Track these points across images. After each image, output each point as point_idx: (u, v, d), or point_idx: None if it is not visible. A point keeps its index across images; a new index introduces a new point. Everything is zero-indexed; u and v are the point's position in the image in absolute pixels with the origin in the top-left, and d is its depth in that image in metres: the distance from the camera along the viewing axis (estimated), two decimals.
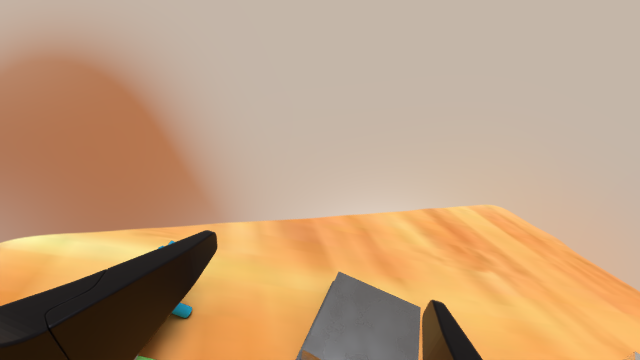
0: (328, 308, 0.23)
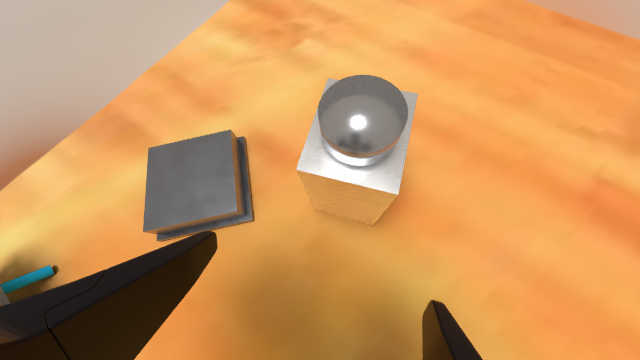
0: (151, 187, 0.23)
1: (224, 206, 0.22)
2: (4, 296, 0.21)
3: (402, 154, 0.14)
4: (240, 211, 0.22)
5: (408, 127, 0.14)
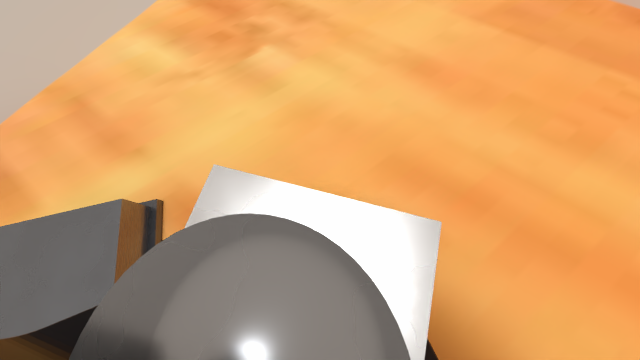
0: None
1: None
2: None
3: None
4: None
5: (417, 346, 0.05)
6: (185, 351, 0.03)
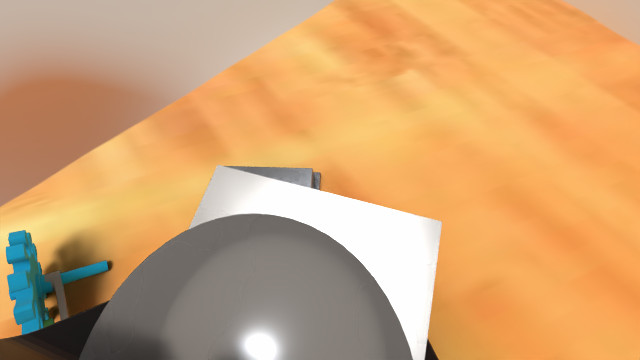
0: None
1: None
2: (61, 290, 0.20)
3: None
4: None
5: (418, 343, 0.05)
6: (193, 347, 0.03)
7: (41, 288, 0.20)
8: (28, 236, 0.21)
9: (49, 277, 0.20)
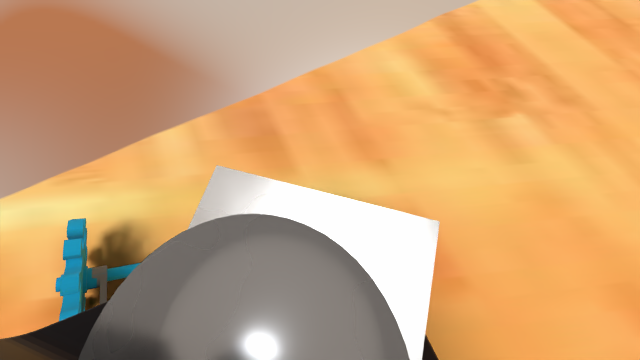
0: None
1: None
2: (105, 289, 0.19)
3: None
4: None
5: (415, 342, 0.05)
6: (192, 345, 0.03)
7: (87, 284, 0.18)
8: (84, 223, 0.19)
9: (96, 273, 0.19)
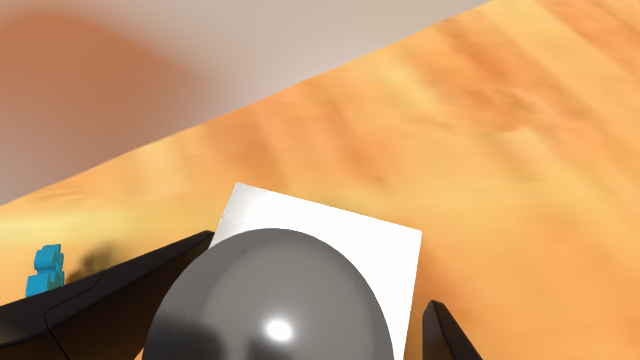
0: None
1: None
2: None
3: None
4: None
5: (400, 329, 0.06)
6: (231, 326, 0.05)
7: None
8: (57, 251, 0.18)
9: None
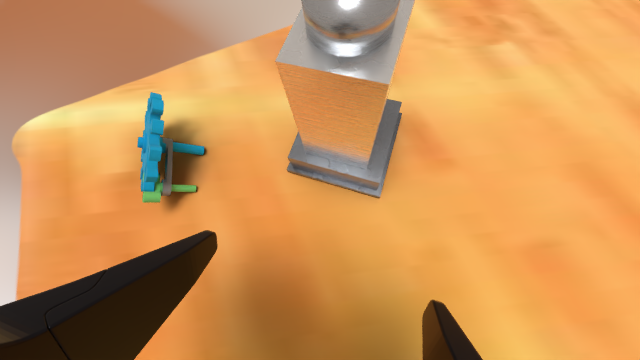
0: None
1: (369, 172, 0.21)
2: (171, 153, 0.24)
3: (396, 45, 0.12)
4: (378, 184, 0.22)
5: (405, 19, 0.12)
6: None
7: (159, 146, 0.23)
8: None
9: (165, 140, 0.24)
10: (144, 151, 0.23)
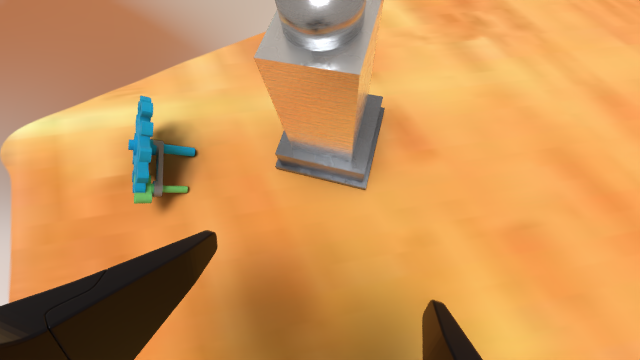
0: None
1: (353, 164, 0.22)
2: (162, 155, 0.24)
3: (366, 39, 0.13)
4: (363, 176, 0.23)
5: (374, 15, 0.13)
6: None
7: (150, 148, 0.24)
8: None
9: (156, 142, 0.24)
10: (135, 153, 0.23)
